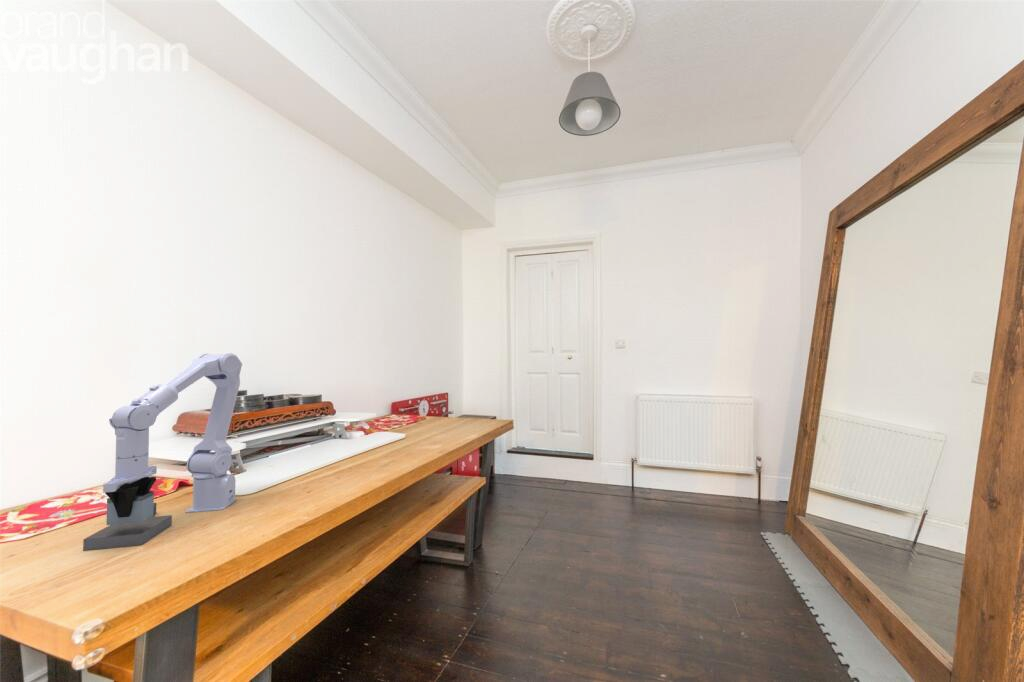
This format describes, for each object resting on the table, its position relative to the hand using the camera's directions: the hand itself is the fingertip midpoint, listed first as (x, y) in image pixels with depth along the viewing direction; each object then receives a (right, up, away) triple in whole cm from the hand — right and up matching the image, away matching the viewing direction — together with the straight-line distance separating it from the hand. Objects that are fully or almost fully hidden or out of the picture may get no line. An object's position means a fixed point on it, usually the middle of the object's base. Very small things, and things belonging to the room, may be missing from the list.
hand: (131, 513), depth 95 cm
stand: (0, -6, 0) cm, 6 cm away
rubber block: (-8, -6, +12) cm, 16 cm away
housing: (0, -2, 0) cm, 2 cm away
